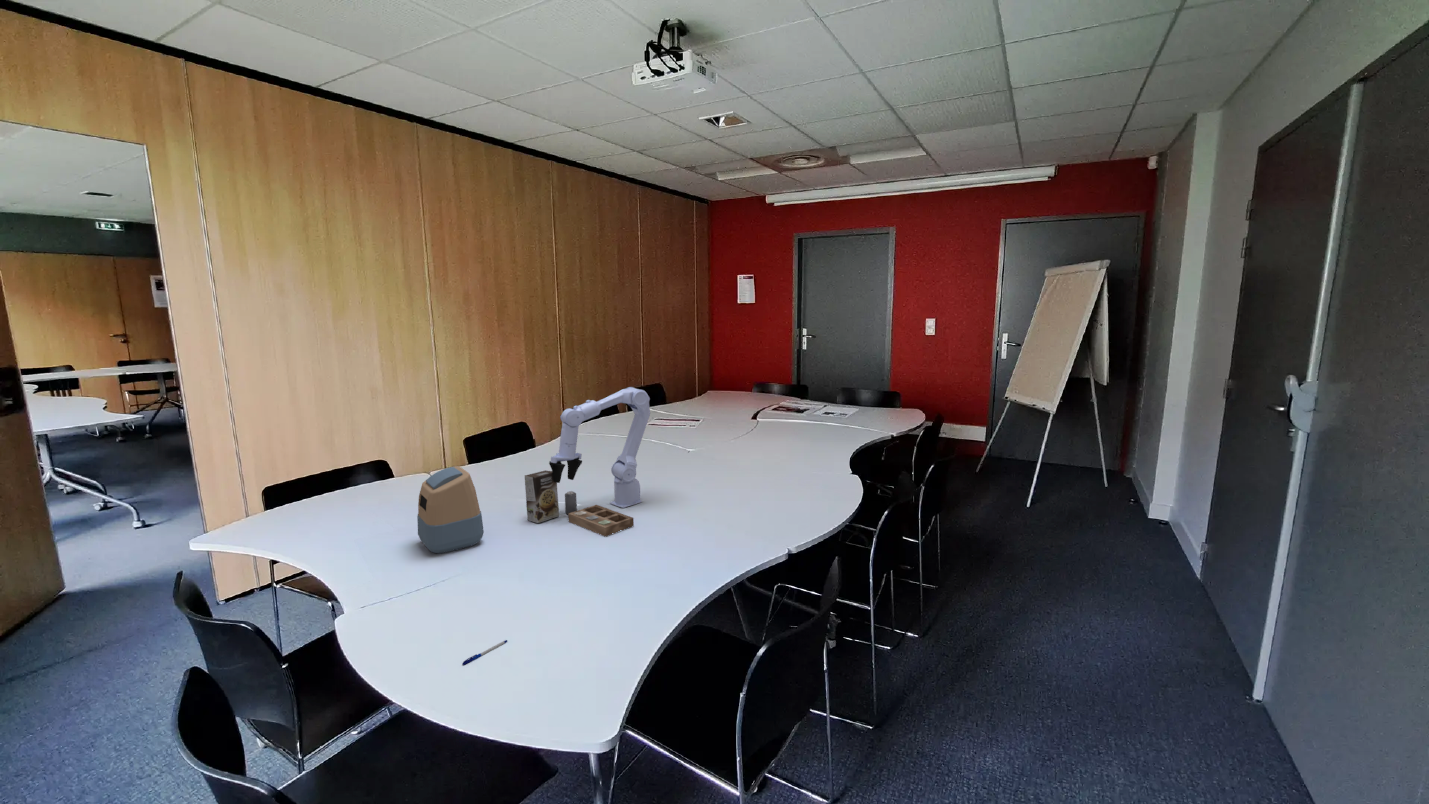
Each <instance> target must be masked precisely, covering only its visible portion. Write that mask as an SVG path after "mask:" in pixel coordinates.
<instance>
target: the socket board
mask: <svg viewBox="0 0 1429 804" xmlns="http://www.w3.org/2000/svg"><path fill="white" fill-rule="evenodd" d="M567 515H568V522H569V523H571V524H573V525H575V524H576V525H575V526H578V527H581V528H583V527H584V528H583V529H585V528H586V530H587V531H590V530H591V531H590V532H593V533H596V534H598V533H599V534H598V535H600V534H601V535H600V536H603V537H605V536H606V537H608V535H609V536H611V535H613V534H612V533H614V534H617V533H619V532H618V531H620V530H622V531H624V529H625V530H627V529H626V528H628V527H630V528H632V526H633V527H634V526H635V525H634V517H632V516H630V515H626V514H624V513H621V512H619V511H615V510H613V509H610V508H607V507H603V506H601V505H598V504H595V505H591V506H588V507H584V508H581V509H579V510H578V509H577V511H575V512H571V513H568V514H567ZM628 529H629V528H628ZM616 532H617V533H616ZM620 532H621V531H620Z"/></svg>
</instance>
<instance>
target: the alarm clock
mask: <svg viewBox="0 0 1429 804" xmlns="http://www.w3.org/2000/svg"><path fill="white" fill-rule="evenodd" d="M479 504H480V503H479V499H478V495H477V491H476V487H475V485H474V482H473V480H472V477H471V474H470V473H469V472H468V471H467V470H465V469H463V468H462V467H461V466H458V465H455V466H450V467H446V468H443V469H442V470H439V471H437V472H434V473H433V474H432V475H431V476H429V477H428V478H427V479H425V480H424V481H423V482H422V483H421V487H420V490H419V495H418V505H417V509H418V510H417V515H416V517H417V535H418V538H419V540H420V542H422V544H423V545H424V546H425V547H426V548H427V550H428V551H430V553H434V554H444V553H445V552H446V553H450V552H453V551H457V549H458V550H460V549H461V548H462V549H465V548H469V546H470V547H473V546H474V545H476V544H477V543H479V542H480V541H481V540H482V539H483V536H484V532H485V531H484V525H483V517H482V516H483V514H482V511H481V508H480V505H479ZM462 549H461V550H462ZM449 551H450V552H449Z"/></svg>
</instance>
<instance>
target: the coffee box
mask: <svg viewBox="0 0 1429 804" xmlns="http://www.w3.org/2000/svg"><path fill="white" fill-rule="evenodd" d="M524 487H525V500H526V514H527V521H530V522H533V523H535V524H541V523H543V522H545V521H549V520H552V519H554V518H557V517H560V507H559V496H558V483H556V482H554V479H553V473H552V470H543V471H541V470H540V471H537V472H534V473H529V474H526V475H524Z"/></svg>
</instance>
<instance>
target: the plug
mask: <svg viewBox="0 0 1429 804" xmlns="http://www.w3.org/2000/svg"><path fill="white" fill-rule="evenodd" d="M577 503H578V502H577V493H576V492H575V491H572V490H571V491H567V492H566V493H564V508H565V510H564V511H565V514H566V515H568V513H571V512H575V511H578V506H577Z"/></svg>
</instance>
